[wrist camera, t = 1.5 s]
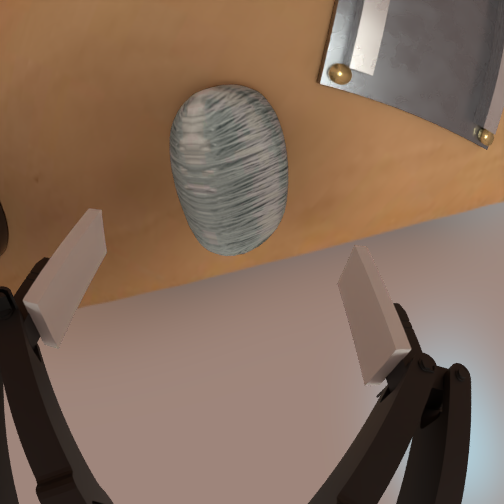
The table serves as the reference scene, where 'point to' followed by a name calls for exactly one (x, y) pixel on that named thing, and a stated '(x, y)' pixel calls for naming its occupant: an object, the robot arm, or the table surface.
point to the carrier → (422, 59)
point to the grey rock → (229, 168)
